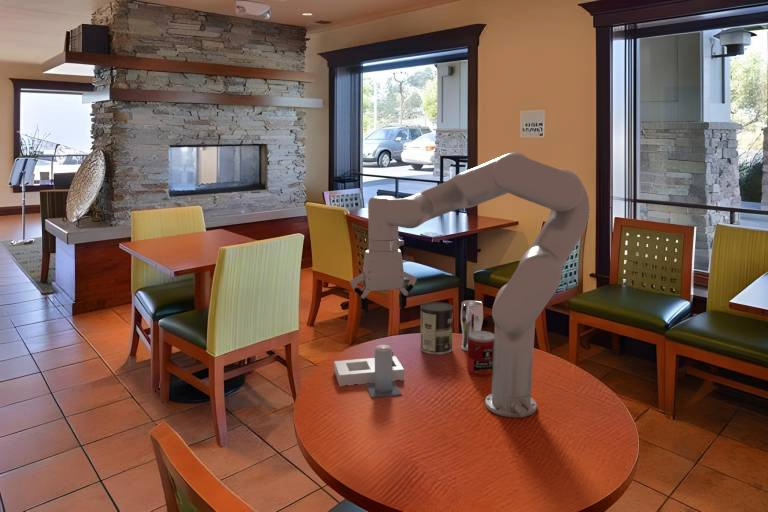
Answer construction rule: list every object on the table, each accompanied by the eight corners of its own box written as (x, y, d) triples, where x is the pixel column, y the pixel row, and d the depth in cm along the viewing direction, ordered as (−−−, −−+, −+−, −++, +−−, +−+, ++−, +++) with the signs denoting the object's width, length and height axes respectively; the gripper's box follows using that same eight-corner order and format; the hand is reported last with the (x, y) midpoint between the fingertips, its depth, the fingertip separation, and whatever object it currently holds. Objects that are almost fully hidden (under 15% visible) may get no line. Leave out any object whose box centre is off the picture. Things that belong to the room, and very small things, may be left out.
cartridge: (390, 384, 153) (389, 343, 151) (394, 391, 148) (393, 349, 146) (373, 386, 152) (372, 345, 150) (377, 393, 147) (376, 351, 145)
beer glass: (455, 346, 182) (456, 301, 179) (473, 343, 185) (475, 299, 182) (467, 353, 176) (468, 307, 173) (486, 350, 179) (487, 304, 176)
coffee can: (453, 344, 184) (454, 302, 181) (450, 355, 174) (451, 312, 171) (422, 342, 186) (422, 300, 183) (417, 353, 176) (418, 310, 173)
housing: (404, 380, 157) (404, 369, 156) (339, 386, 153) (339, 375, 152) (395, 366, 166) (395, 356, 166) (334, 371, 162) (334, 361, 162)
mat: (401, 395, 147) (401, 393, 147) (371, 398, 146) (371, 396, 146) (394, 382, 155) (394, 381, 155) (365, 385, 153) (365, 384, 153)
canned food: (474, 378, 158) (475, 341, 155) (462, 367, 165) (463, 331, 163) (499, 375, 160) (500, 338, 158) (486, 364, 167) (488, 329, 165)
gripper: (412, 241, 148) (412, 304, 151) (347, 244, 144) (348, 308, 148) (420, 246, 141) (420, 312, 144) (352, 249, 137) (353, 317, 140)
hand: (383, 310), depth 146 cm, fingers open, 9 cm apart
